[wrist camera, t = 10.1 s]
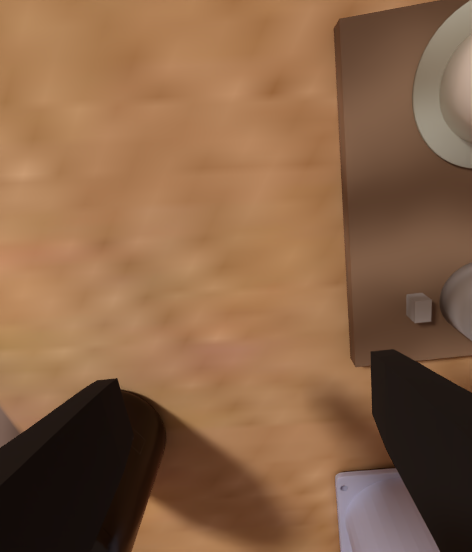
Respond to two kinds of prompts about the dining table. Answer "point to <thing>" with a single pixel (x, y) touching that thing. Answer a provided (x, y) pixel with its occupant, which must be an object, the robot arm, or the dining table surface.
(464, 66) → the knob
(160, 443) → the supplement bottle
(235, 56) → the dining table surface
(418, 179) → the base
